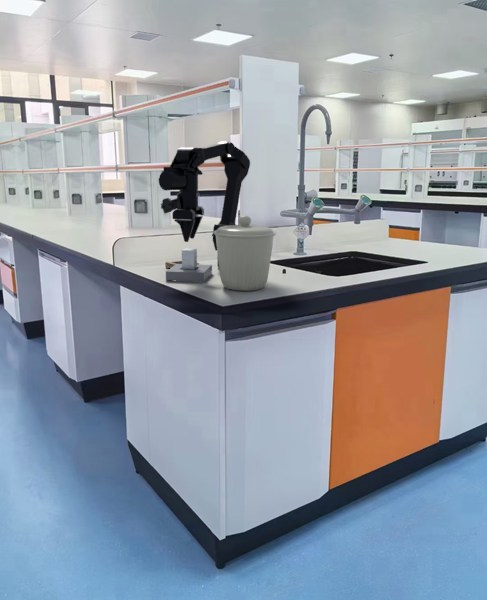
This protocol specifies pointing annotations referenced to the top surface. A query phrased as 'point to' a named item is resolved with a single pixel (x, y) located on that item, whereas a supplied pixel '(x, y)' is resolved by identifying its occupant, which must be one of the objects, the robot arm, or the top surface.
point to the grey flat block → (189, 273)
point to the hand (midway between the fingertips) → (189, 240)
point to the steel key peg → (189, 259)
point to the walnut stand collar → (173, 263)
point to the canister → (244, 254)
